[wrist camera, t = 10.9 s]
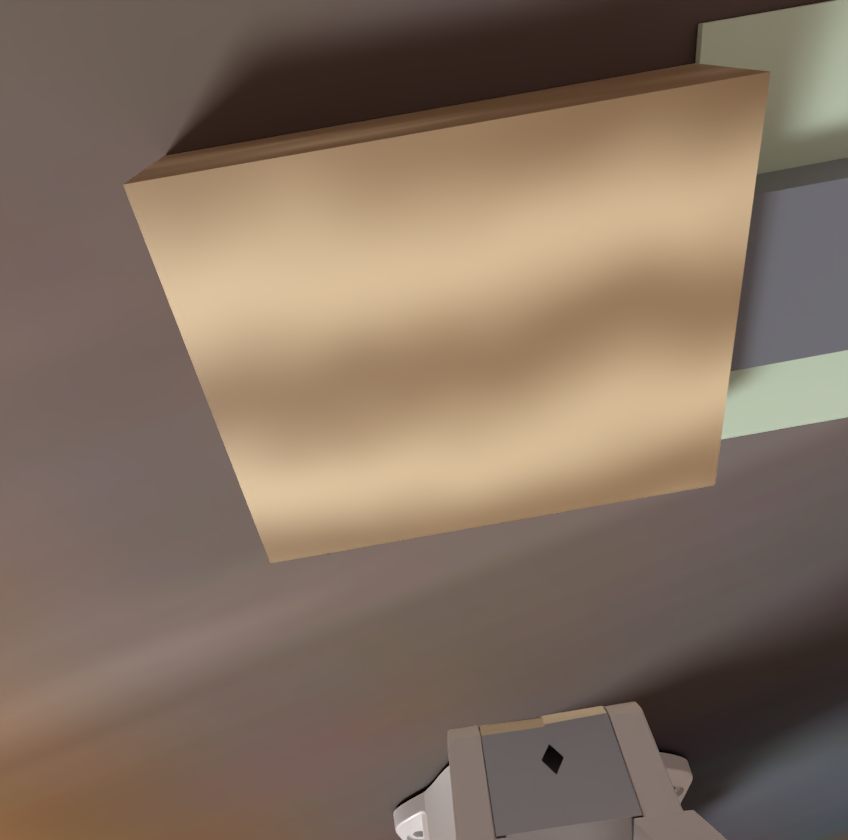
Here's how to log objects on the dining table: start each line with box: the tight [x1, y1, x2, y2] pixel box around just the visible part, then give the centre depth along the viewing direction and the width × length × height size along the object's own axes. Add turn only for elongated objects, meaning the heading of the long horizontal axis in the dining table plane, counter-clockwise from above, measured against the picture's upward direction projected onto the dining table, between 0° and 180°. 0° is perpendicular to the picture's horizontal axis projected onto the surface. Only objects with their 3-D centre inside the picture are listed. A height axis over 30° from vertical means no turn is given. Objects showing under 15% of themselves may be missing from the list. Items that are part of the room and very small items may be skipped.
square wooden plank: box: [123, 63, 770, 563], centre depth 20 cm, size 13×16×4 cm
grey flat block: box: [730, 158, 848, 371], centre depth 21 cm, size 6×9×2 cm, turn 99°
